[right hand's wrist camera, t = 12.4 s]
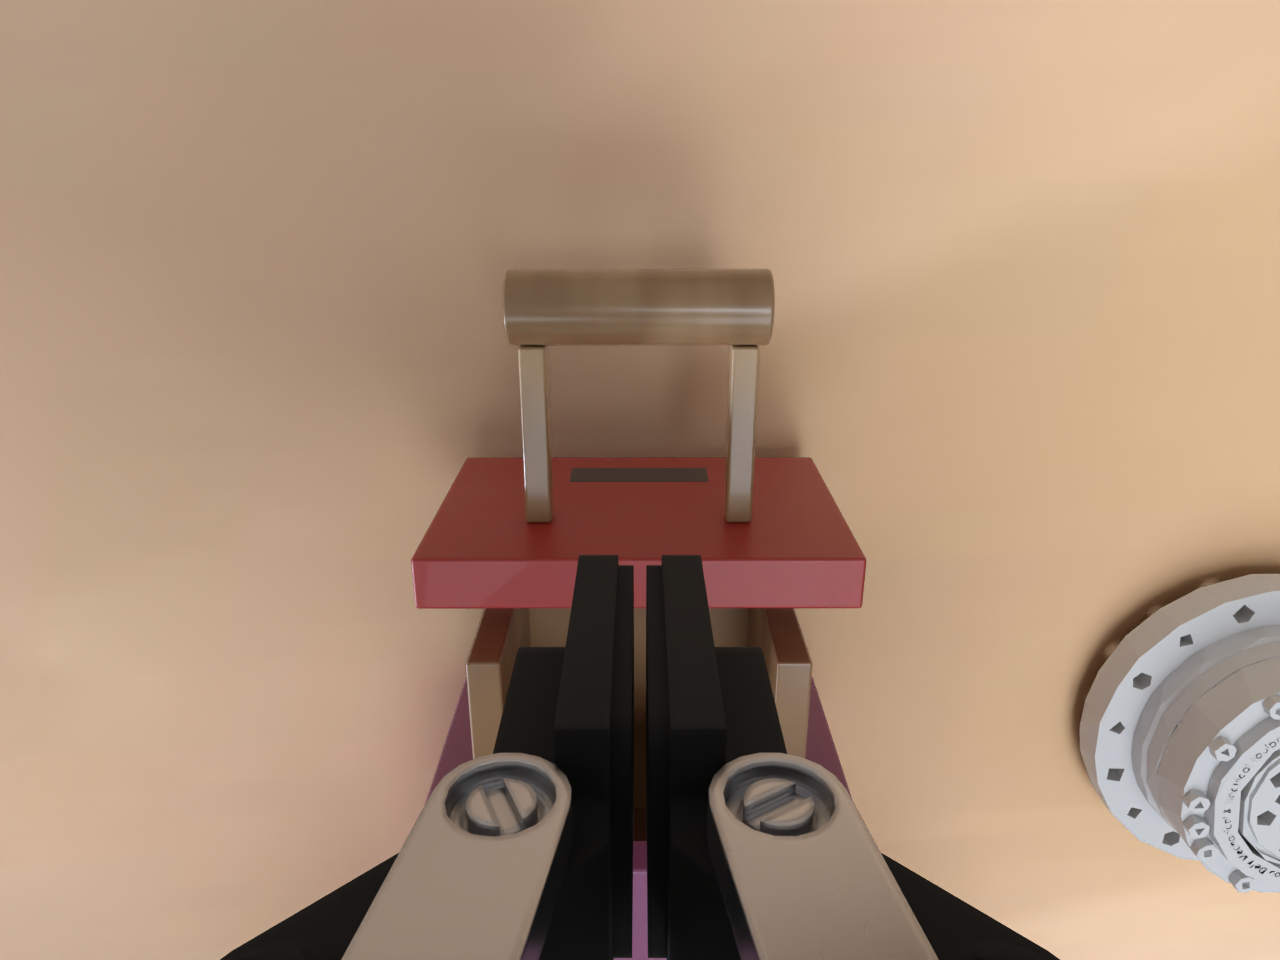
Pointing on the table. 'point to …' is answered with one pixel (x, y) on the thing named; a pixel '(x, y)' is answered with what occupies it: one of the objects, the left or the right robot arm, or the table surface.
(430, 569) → the drawer
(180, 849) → the table surface
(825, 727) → the cabinet
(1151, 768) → the mechanical component
